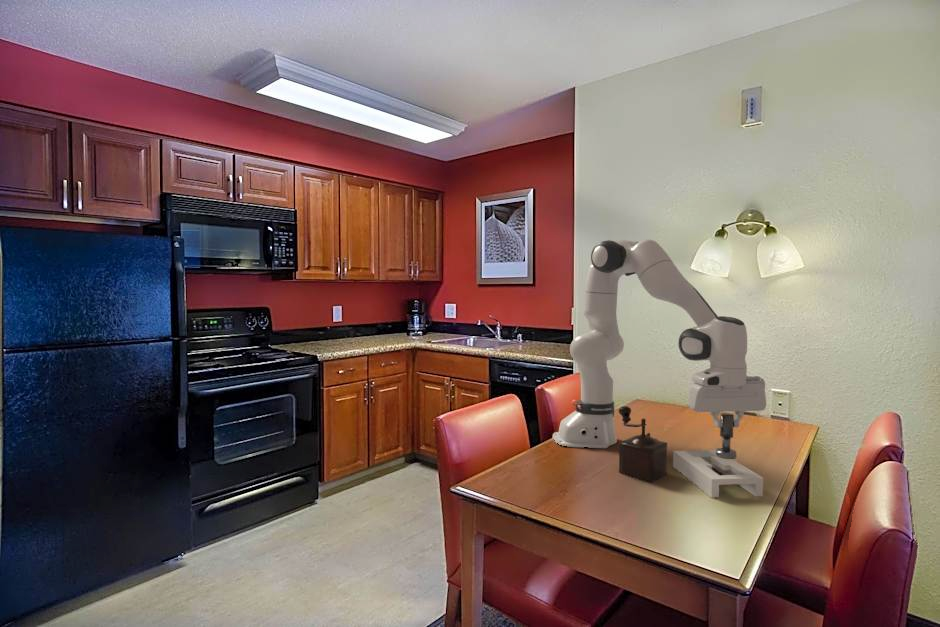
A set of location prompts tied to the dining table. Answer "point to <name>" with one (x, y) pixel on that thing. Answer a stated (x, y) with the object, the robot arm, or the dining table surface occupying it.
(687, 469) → the keyhole board
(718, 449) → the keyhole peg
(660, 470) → the manual coffee grinder
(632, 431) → the dining table surface
